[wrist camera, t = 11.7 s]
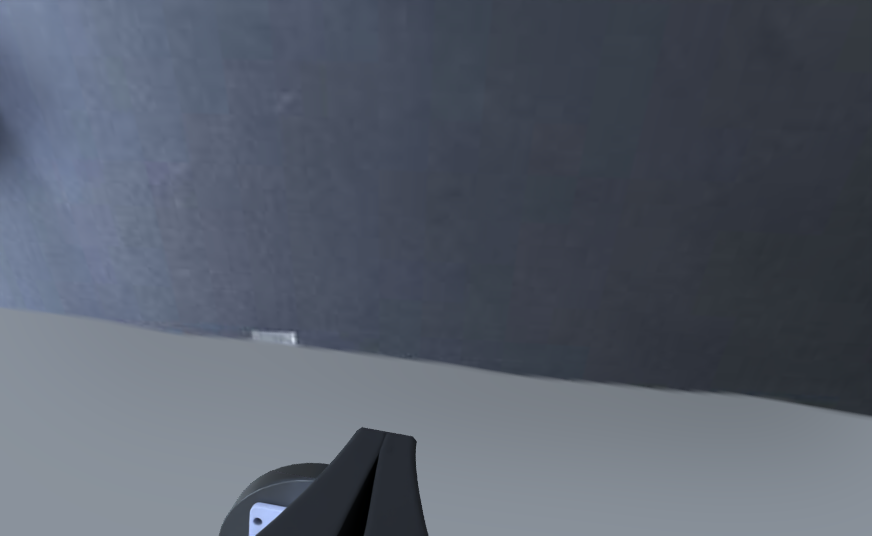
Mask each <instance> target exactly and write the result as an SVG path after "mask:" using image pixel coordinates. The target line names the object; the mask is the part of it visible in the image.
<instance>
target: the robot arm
mask: <svg viewBox="0 0 872 536" xmlns="http://www.w3.org/2000/svg"><path fill="white" fill-rule="evenodd" d="M416 443H417V442H416V440H415V439H414V438H413V437H412V436H406V435H401V434H396V433H390V432H385V431H379V430H374V429H368V428H363V427H362V428H360V429H359V430H357V431H356V433H355V434H354V436H353V437H352V438H351V440H350V441H349V442H348V443H347V445H346V446H345V447H344V448H343V450H342V451H341V452H340V453H339V454H338V455H337V457H336V458H335V459H334V460H333V461H332V462H331V463H330V464H329V466H328V467H327V468H326V469H325V470H324V471H323V472H322V473H321V474H320V475H319V476H318V477H317V478H316V479H315V480H314V481H313V482H312V484H311V485H310V486H309V487H308V488H307V489H306V490H305V491H304V492H303V493H302V494H301V495H299V496H298V497H297V498H296V499H295V500H294V501H293V502H292V503H291V504H290V505H289V506H288V507H283V506H277V505H272V504H266V503H255V504H254V505H253V506H252V508H251V510H250V521H249V536H428V532H427V529H426V525H425V520H424V515H423V510H422V505H421V499H420V494H419V488H418V481H417V473H416V455H415V454H416ZM258 518H260V519H261V520H260V519H258Z"/></svg>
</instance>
